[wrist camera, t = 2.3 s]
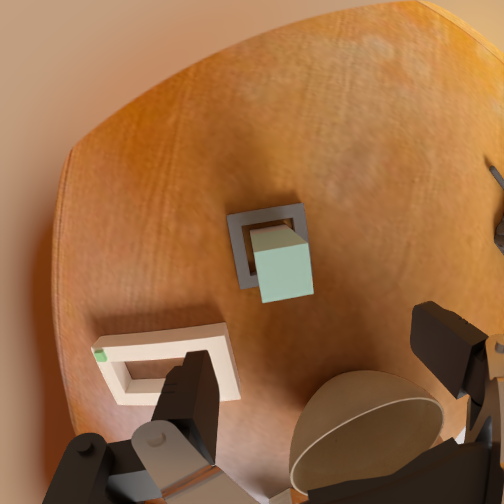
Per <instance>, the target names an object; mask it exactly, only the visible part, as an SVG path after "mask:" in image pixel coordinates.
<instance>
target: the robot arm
mask: <svg viewBox="0 0 504 504" xmlns="http://www.w3.org/2000/svg"><path fill="white" fill-rule="evenodd" d="M410 345H411V348H412V351H413V353H414V354H415V355H416V356H417V357H418V358H419V359H420V360H421V361H422V362H423V363H424V364H425V366H426V367H427V368H428V369H429V370H430V371H431V372H432V373H433V374H434V375H435V376H436V377H437V378H438V380H439V381H440V382H441V383H442V384H443V385H444V386H445V387H446V388H447V389H448V391H449V392H450V393H451V394H452V395H453V396H454V397H455V398H456V399H459V398H461V397H463V396H464V395H466V394H469V395H470V397H469V399H468V403H467V419H466V433H465V440H464V443H463V444H459V445H458V444H457V443H456V441H455V440H454V438H453V437H452V438H450V439H448V440H446V441H443V440H442V438H441V437H440V436H439V437H438V439H437V440H436V442H435V443H434V445H433V446H432V447H431V449H429V450H427V451H424V452H422V453H421V454H420V455H419V456H417V457H416V458H415V459H413V460H412V461H410V462H409V463H408V464H406V465H405V466H403V467H402V468H401V469H399V470H398V471H396V472H395V473H393V474H391V475H387V476H381V477H374V478H366V479H358V480H348V481H344V482H341V483H337V484H333V485H329V486H325V487H321V488H316V489H312V490H307V494H308V500H306V501H304V502H301V503H299V504H504V334H495V335H492V336H490V337H489V336H488V335H486V334H485V333H483V332H482V331H481V330H479V329H478V328H476V327H475V326H473V325H472V324H471V323H468V321H466V320H465V319H462V317H460V316H459V315H457V314H456V313H454V312H452V311H449V310H446V309H443V308H442V307H440V306H439V305H437V304H436V303H435V302H433V301H428V302H424V303H421V304H418V305H415V306H414V308H413V311H412V323H411V335H410ZM163 385H164V386H163V387H162V390H161V394H160V396H159V399H158V401H157V404H156V407H155V410H154V413H153V416H152V419H151V422H147V423H145V424H143V425H141V426H140V427H139V428H137V429H136V431H135V432H134V433H133V435H132V439H129V440H125V441H119V442H114V443H108V444H107V442H106V441H105V440H104V438H103V437H102V436H101V435H99V434H96V433H84V434H81V435H78V436H77V437H75V438H74V439H73V440H71V442H70V443H69V444H68V446H67V448H66V450H65V452H64V454H63V457H62V459H61V461H60V463H59V466H58V468H57V470H56V472H55V474H54V477H53V479H52V481H51V484H50V486H49V488H48V491H47V493H46V496H45V498H44V500H43V503H42V504H144V503H145V500H151V499H156V498H162V497H163V498H164V500H165V501H166V503H167V504H260V503H259V502H258V501H256V500H255V499H254V498H253V497H252V496H250V495H249V494H248V493H247V492H246V491H245V490H243V489H242V488H241V487H240V486H239V485H238V484H237V483H236V482H234V481H233V480H232V479H231V478H230V477H229V476H228V475H227V474H226V473H225V472H224V471H223V470H221V469H220V468H219V467H218V466H211V465H215V456H216V442H217V428H218V415H219V402H220V392H219V385H218V381H217V378H216V375H215V372H214V368H213V365H212V362H211V358H210V355H209V352H208V350H199V351H190V352H187V353H186V355H185V359H184V362H183V365H182V366H175V367H174V368H173V369H172V370H171V371H170V372H169V373H168V374H167V376H166V379H165V381H164V384H163Z"/></svg>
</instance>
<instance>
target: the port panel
mask: <svg viewBox="0 0 504 504" xmlns="http://www.w3.org/2000/svg"><path fill="white" fill-rule="evenodd" d="M91 350H92V352H93V355H94V357H95V359H96V361H97V364H98V366H99V368H100V370H101V372H102V374H103V376H104V379H105V381H106V383H107V385H108V387H109V389H110V390H111V392H112V394H113V396H114V398H115V400H116V402H117V404H118V405H156V404H157V401H158V399H159V396H160V394H161V390H162V387H163V386H164V385H163V384H164V381H165V379H166V378H161V379H136V380H132V378H131V376H130V374H129V371H128V369H127V367H126V364H125V362H124V361H141V360H156V359H169V358H180V357H185V355H186V353H187V352H190V351H199V350H208V352H209V354H210V358H211V361H212V364H213V368H214V371H215V375H216V378H217V381H218V385H219V392H220V401H229V400H237V399H241V382H240V379H239V375H238V371H237V367H236V363H235V358H234V354H233V350H232V346H231V342H230V338H229V333H228V329H227V325H226V322H223V323H217V324H210V325H202V326H195V327H187V328H179V329H170V330H161V331H152V332H142V333H131V334H120V335H107V336H100V337H99V338H98V340H97V341H96V342H95V343H94V344H93V345H92V347H91Z"/></svg>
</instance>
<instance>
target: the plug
mask: <svg viewBox="0 0 504 504" xmlns="http://www.w3.org/2000/svg"><path fill="white" fill-rule="evenodd" d="M250 236H251V242H252V248H253V254H254V259H255V265H256V271H257V276H258V281H259V287H260V292H261V298H262V303H266V302H272V301H278V300H283V299H288V298H294V297H299V296H304V295H309V294H314V292H313V282H312V273H311V264H310V256H309V248H308V243H307V242H306V241H305V240H304V239H302V238H301V237H300V236H299V235H298V234H296V233H295V232H294V231H293V230H292V229H290V228H289V227H288V226H287V225H286V224H283V225H277V226H271V227H265V228H259V229H253V230H250Z"/></svg>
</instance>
